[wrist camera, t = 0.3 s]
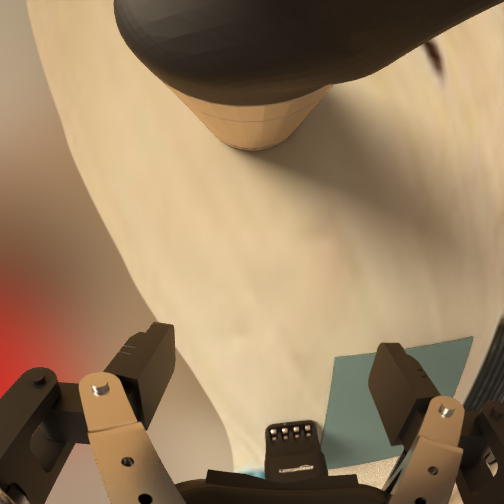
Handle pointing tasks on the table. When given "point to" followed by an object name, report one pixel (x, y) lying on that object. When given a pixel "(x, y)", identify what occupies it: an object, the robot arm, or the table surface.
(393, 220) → the table surface
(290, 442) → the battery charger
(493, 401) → the robot arm
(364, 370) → the mat
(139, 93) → the table surface
